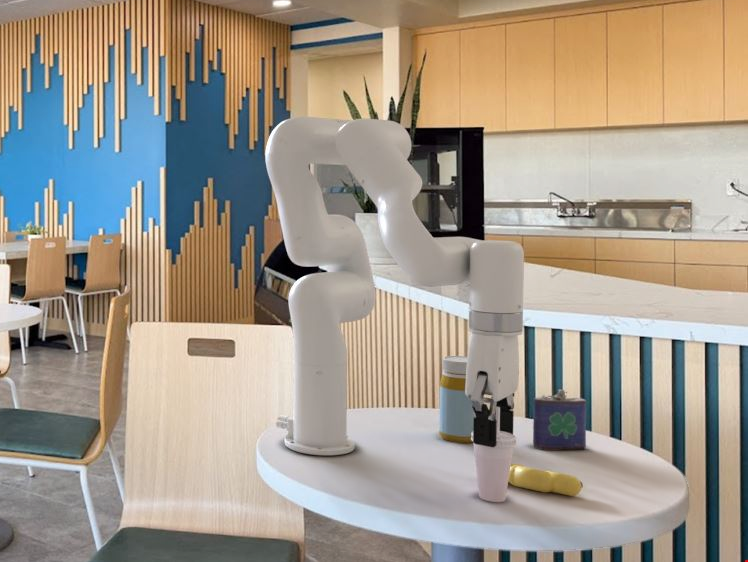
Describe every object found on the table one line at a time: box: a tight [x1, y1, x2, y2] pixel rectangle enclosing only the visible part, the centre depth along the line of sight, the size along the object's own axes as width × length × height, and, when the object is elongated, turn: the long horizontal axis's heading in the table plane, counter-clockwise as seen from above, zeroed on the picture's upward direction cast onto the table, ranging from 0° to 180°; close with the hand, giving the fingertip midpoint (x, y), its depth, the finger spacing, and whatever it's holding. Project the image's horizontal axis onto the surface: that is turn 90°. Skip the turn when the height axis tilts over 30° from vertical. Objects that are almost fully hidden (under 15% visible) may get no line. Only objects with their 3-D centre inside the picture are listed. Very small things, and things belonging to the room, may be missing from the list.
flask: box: [532, 388, 587, 451], centre depth 157 cm, size 9×3×11 cm, turn 88°
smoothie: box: [471, 407, 517, 503], centre depth 131 cm, size 6×6×14 cm
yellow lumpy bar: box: [508, 462, 584, 497], centre depth 136 cm, size 14×4×3 cm, turn 48°
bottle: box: [438, 355, 474, 444], centre depth 163 cm, size 7×7×15 cm
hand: (493, 438), depth 131 cm, fingers closed on smoothie, 6 cm apart
